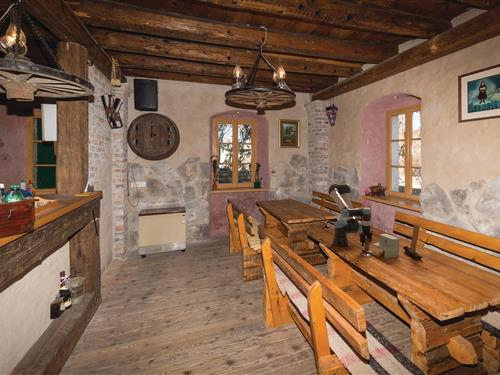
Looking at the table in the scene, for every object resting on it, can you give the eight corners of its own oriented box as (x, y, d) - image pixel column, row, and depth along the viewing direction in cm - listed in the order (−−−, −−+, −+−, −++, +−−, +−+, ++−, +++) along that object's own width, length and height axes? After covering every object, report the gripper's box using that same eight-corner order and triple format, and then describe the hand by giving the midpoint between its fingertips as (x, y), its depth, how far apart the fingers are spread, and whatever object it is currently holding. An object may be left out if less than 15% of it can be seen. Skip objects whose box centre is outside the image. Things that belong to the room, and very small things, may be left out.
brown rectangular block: (362, 250, 251) (362, 237, 249) (365, 249, 252) (366, 237, 250) (377, 256, 234) (377, 243, 232) (380, 256, 235) (381, 242, 233)
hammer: (422, 262, 225) (428, 230, 216) (416, 262, 225) (422, 230, 216) (408, 250, 244) (413, 219, 235) (402, 250, 244) (407, 220, 235)
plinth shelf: (372, 252, 246) (372, 235, 244) (384, 250, 250) (385, 233, 248) (385, 258, 230) (386, 240, 228) (398, 256, 234) (399, 238, 233)
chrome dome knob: (362, 255, 240) (362, 253, 240) (368, 254, 241) (368, 253, 241) (365, 257, 234) (365, 256, 234) (372, 257, 235) (372, 255, 235)
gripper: (361, 226, 240) (360, 251, 243) (376, 224, 245) (376, 249, 248) (355, 224, 247) (355, 249, 250) (370, 222, 252) (370, 246, 255)
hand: (365, 249), depth 249 cm, fingers closed on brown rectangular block, 4 cm apart
